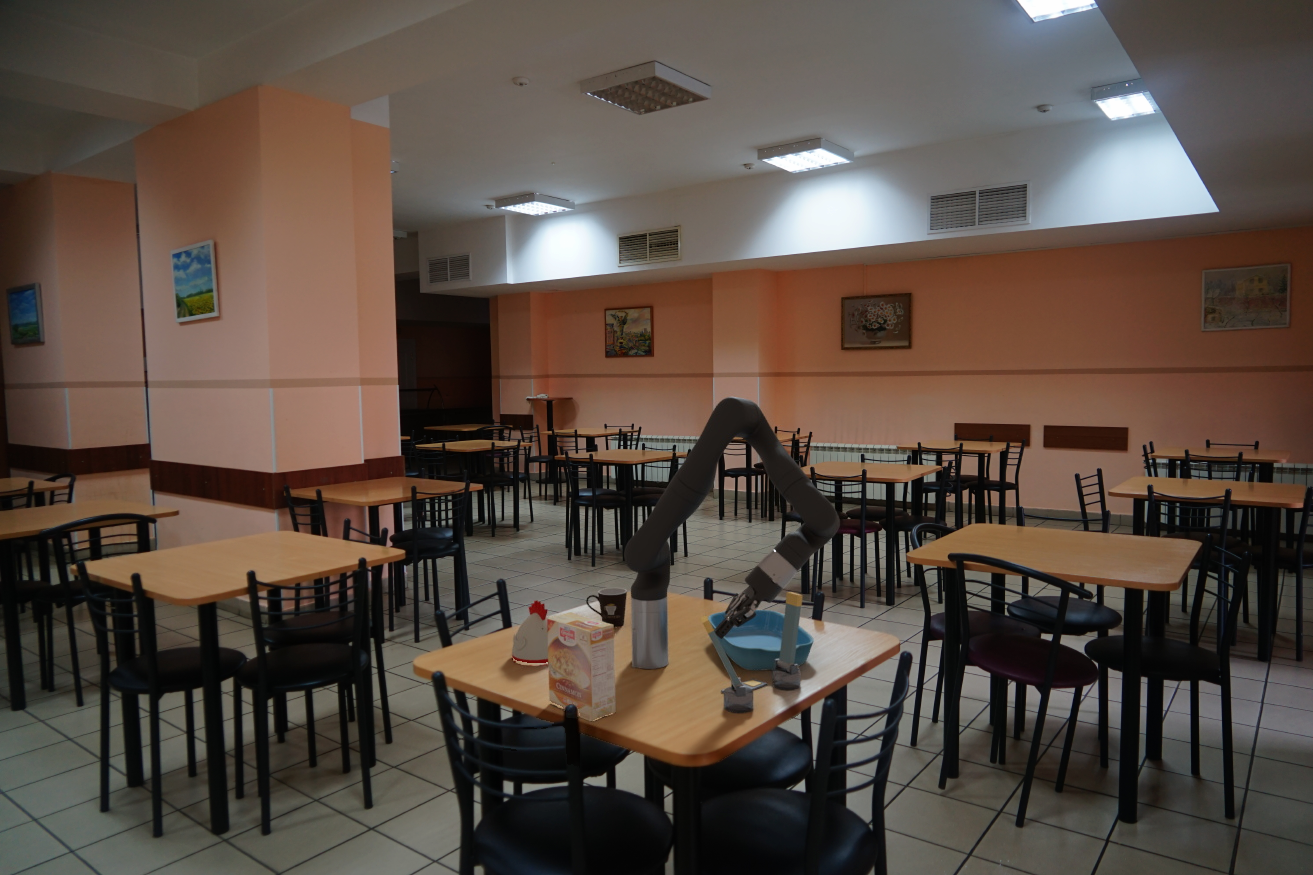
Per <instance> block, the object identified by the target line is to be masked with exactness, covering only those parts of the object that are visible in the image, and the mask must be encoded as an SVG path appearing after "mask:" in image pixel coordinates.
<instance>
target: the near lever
mask: <svg viewBox="0 0 1313 875" xmlns="http://www.w3.org/2000/svg"><path fill="white" fill-rule="evenodd" d="M708 618H709V617H708V616H707V614H706V615H703V616H702V617H700V618H699V619H700V622H701V623H702V625H703V627H704V629H705V631H706V633H707V635H708V636H709V638H710V641H711V642H712V644H713V646H714V648H715V650H716V652H717V654H718V656H719V658H720V660H721V662H722V664H723V666H724V668H725V670H726V672H727V674H728V675H729V678H730V680H732V685H733V686H734V688H735V690H736V686H744V685H743V684H742V682H743V681H742V680H740V679H739V678H740V677H738V674H737V673H736V671H735V668H734V667H733V665H732V663H731V662H730V660H729V656H728V655H727V653H726V652H725V651H724V649H723V647H722V645H721V643H720V641H719V639H718V638H717V636H716V634H715V632H714V629H713V627H712V625H711V623H710V621H709V619H708Z"/></svg>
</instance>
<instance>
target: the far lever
mask: <svg viewBox="0 0 1313 875" xmlns="http://www.w3.org/2000/svg"><path fill="white" fill-rule="evenodd" d="M803 597H804V596H803V595H802V594H799V593H797V592H792V591H786V596H785V609H784V624H783V632H782V641H781V649H780V657H779V660H778V662H777V665H778V666H779V667H781V668H783V669H786V670H788V671H790V665H794V661H795V653H796V644H797V636H798V627H799V626H800V625H799V624H800V617H801V609H802V606H803V605H802V604H803Z"/></svg>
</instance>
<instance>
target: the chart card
mask: <svg viewBox="0 0 1313 875" xmlns="http://www.w3.org/2000/svg"><path fill="white" fill-rule="evenodd" d="M741 682H742V684H743V685H744V686H745V687H748V688H750V689H752V690H753V691H755V690H758V689H760V688H763V687H766V686H768V682H766V681H763V680H759V679H757V678H751V679H748V680H746V681H745V680H744V681H741ZM724 689H725V688H723V689H720V692H721V693H723V694H724Z"/></svg>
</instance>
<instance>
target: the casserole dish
mask: <svg viewBox="0 0 1313 875" xmlns="http://www.w3.org/2000/svg"><path fill="white" fill-rule="evenodd" d="M725 611H726V610H724V611H720V612H719V611H718V612H716V613H715V612H714V613H712V614H710V615H709V616H708V617H707V618H708V619H709V621H710V623H711V625H712V627H713V629H715V628H716V627H717V626H718V625H719V624H720V623H721V622H722V621H723V619H724V617H725V615H726V614H725ZM755 613H756V616H755V617H754V618H752V619H751V620H749V621H748V622H746V623H744V624H743V625H741V626H740V627H737V626H736V627H732V629H731V630H730V631H729V632H728V633H727V634H726V635H725V636H724V637H723V638H722V639H720V638H719V637H718V636H717V635H716V636H717V638H718V639H719V641H720V643H721V645H722V647H723V649H724V651H725V653H726V655H727V657H728V658H730V659H731V660H732V661H733V662H734V663H735V664H736V665H738V666H739V667H741V668H742V669H745V670H747V671H748V670H749V671H769V670H771V671H772V670H773V668H775V659H779V657H780V649H781V641H782V632H783V624H784V615H785V613H784V614H783V613H782V612H779V611H776V610H771V609H756V611H755ZM814 642H815V640H814V638H813V636H812V635H811V634H810V633H809V632H808V631H806V630H805V629H804V628H803V627H801V626H800V625H799V627H798V636H797V644H796V653H795V661H794V664H798V667H800V666H801V665H803V664H804V663H805V662H806V661H807V660H808V657H809V655H810V652H811V650H812V647H813V644H814ZM799 665H800V666H799Z"/></svg>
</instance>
